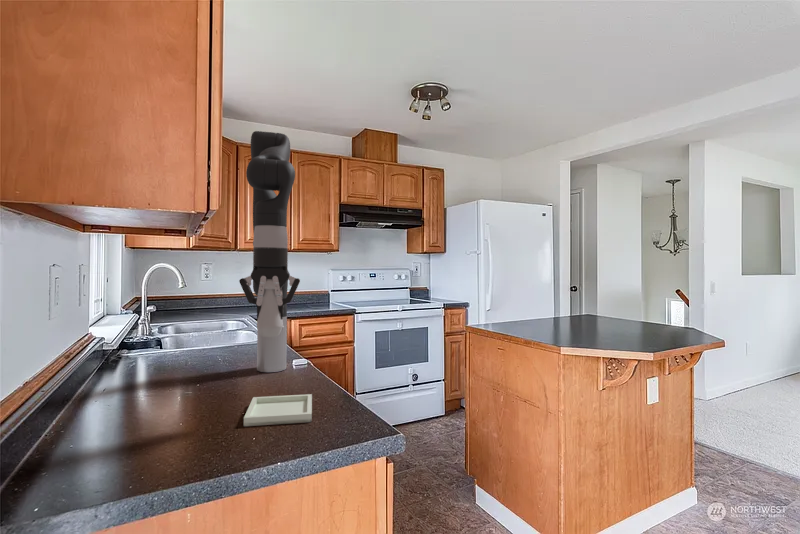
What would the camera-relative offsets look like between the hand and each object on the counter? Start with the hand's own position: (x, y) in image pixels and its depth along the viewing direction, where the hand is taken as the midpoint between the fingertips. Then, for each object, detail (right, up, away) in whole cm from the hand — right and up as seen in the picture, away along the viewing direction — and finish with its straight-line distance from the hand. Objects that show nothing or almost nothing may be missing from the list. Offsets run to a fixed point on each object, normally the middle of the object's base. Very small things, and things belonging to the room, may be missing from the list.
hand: (270, 321), depth 95 cm
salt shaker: (0, -3, 0) cm, 3 cm away
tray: (+2, -21, 0) cm, 21 cm away
